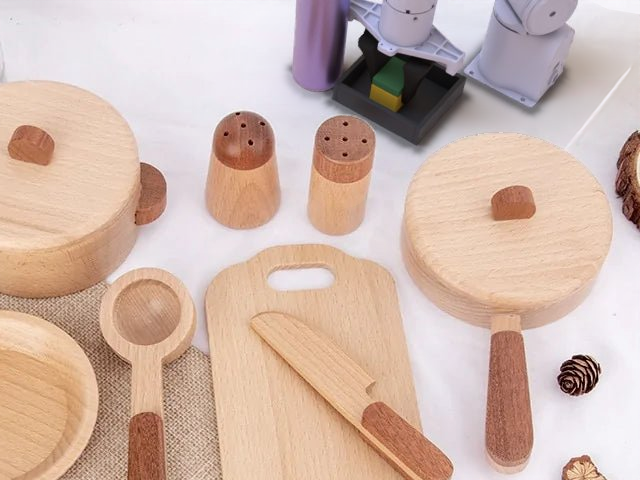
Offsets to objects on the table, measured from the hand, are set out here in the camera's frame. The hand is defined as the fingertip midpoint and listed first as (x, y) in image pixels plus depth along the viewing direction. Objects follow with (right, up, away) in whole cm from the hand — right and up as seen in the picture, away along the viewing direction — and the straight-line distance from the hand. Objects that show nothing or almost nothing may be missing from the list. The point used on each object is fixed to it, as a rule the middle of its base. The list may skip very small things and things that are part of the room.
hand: (392, 90), depth 126 cm
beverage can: (-9, +2, +3) cm, 9 cm away
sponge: (0, 0, +1) cm, 1 cm away
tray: (+1, -1, +1) cm, 2 cm away
